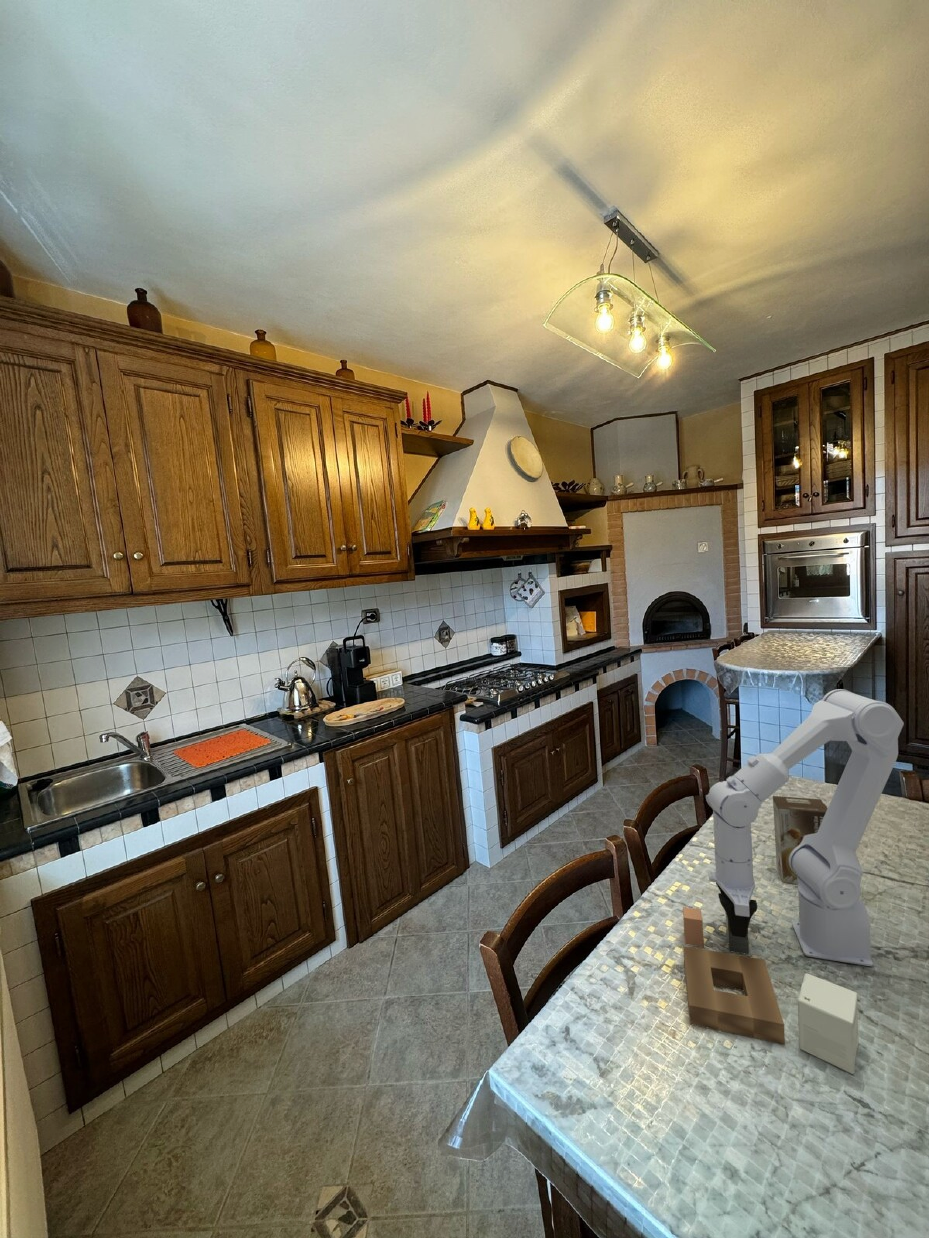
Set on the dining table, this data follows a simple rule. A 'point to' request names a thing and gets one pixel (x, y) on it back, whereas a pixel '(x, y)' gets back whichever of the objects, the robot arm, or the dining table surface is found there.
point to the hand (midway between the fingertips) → (736, 927)
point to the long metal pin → (736, 940)
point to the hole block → (732, 994)
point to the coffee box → (794, 828)
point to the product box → (828, 1022)
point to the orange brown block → (693, 926)
